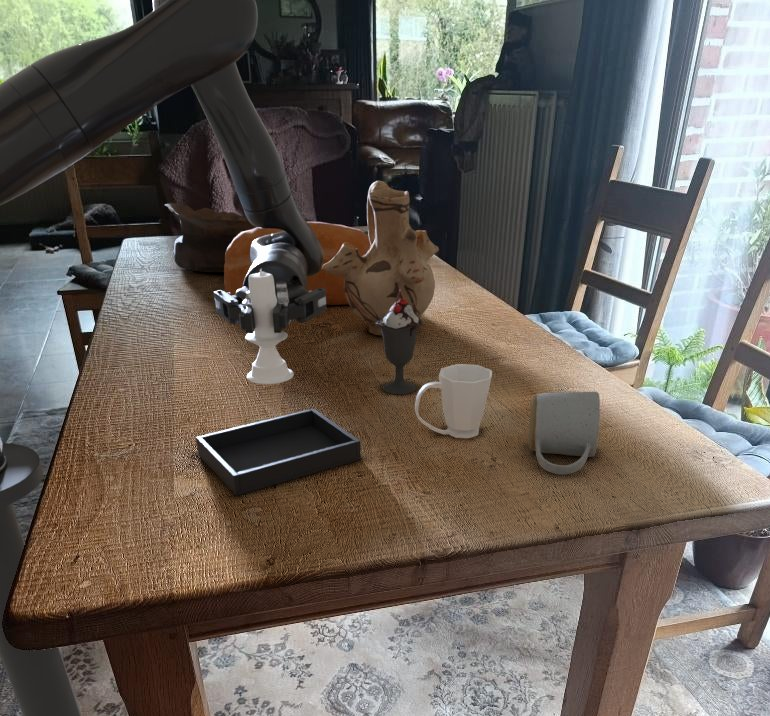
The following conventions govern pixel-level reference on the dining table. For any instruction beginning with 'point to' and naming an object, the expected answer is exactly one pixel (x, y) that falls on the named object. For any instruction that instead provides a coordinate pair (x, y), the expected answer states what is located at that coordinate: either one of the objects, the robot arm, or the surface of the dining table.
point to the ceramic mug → (564, 427)
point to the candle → (266, 333)
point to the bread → (333, 284)
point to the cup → (460, 398)
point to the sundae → (399, 342)
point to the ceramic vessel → (386, 260)
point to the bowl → (205, 237)
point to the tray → (277, 450)
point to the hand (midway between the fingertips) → (262, 324)
